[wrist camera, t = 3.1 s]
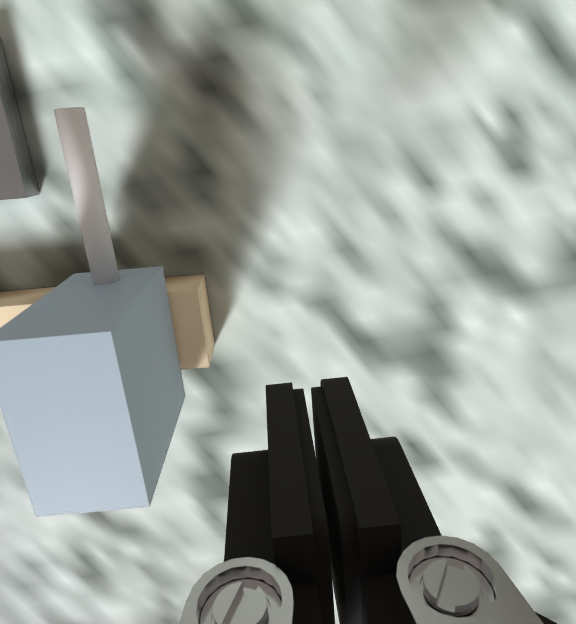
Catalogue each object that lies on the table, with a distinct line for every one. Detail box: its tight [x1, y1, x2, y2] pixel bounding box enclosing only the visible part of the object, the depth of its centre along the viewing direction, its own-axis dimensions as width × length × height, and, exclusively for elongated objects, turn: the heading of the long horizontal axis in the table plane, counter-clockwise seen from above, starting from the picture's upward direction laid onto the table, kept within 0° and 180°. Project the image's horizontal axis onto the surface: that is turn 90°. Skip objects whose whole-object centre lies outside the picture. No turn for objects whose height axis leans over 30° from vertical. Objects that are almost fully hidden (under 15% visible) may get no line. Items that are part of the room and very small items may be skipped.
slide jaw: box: [0, 107, 185, 517], centre depth 14 cm, size 3×10×6 cm, turn 5°
